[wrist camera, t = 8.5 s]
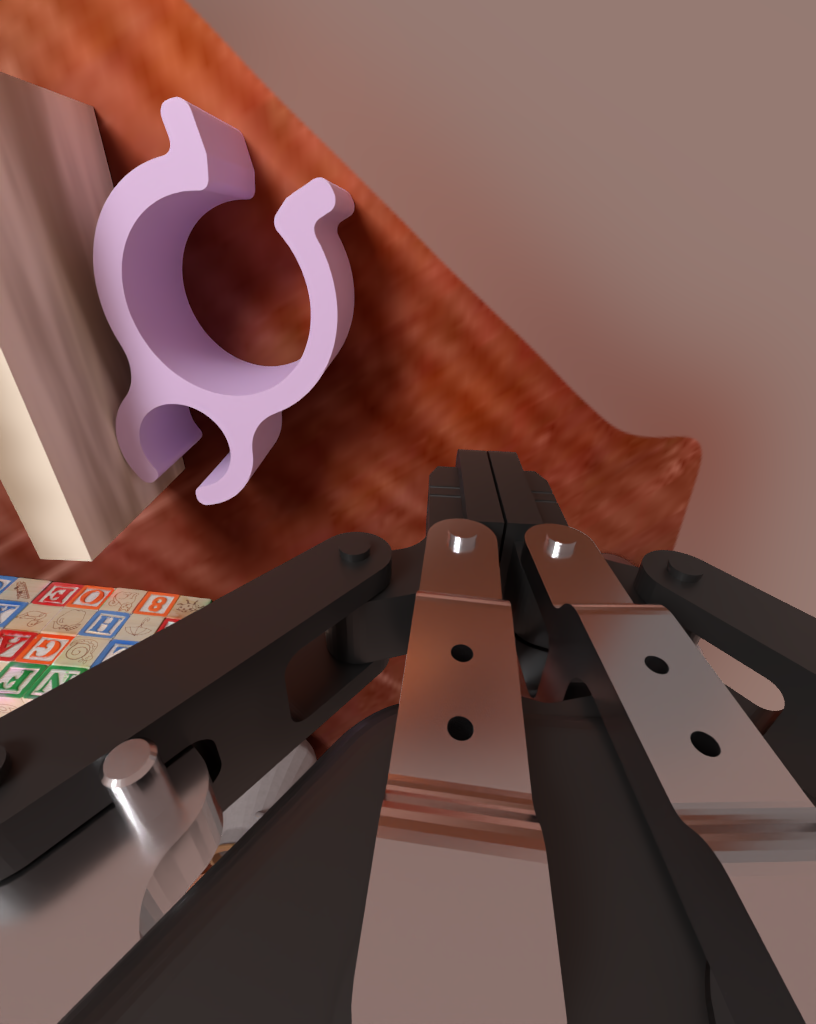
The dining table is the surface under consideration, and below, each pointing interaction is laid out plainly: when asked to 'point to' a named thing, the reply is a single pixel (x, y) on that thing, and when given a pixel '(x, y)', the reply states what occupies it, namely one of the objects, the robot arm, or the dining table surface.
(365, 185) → the dining table surface
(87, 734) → the robot arm
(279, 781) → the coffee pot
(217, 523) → the dining table surface
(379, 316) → the dining table surface
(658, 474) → the dining table surface
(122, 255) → the clip
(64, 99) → the board
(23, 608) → the stack of blocks
